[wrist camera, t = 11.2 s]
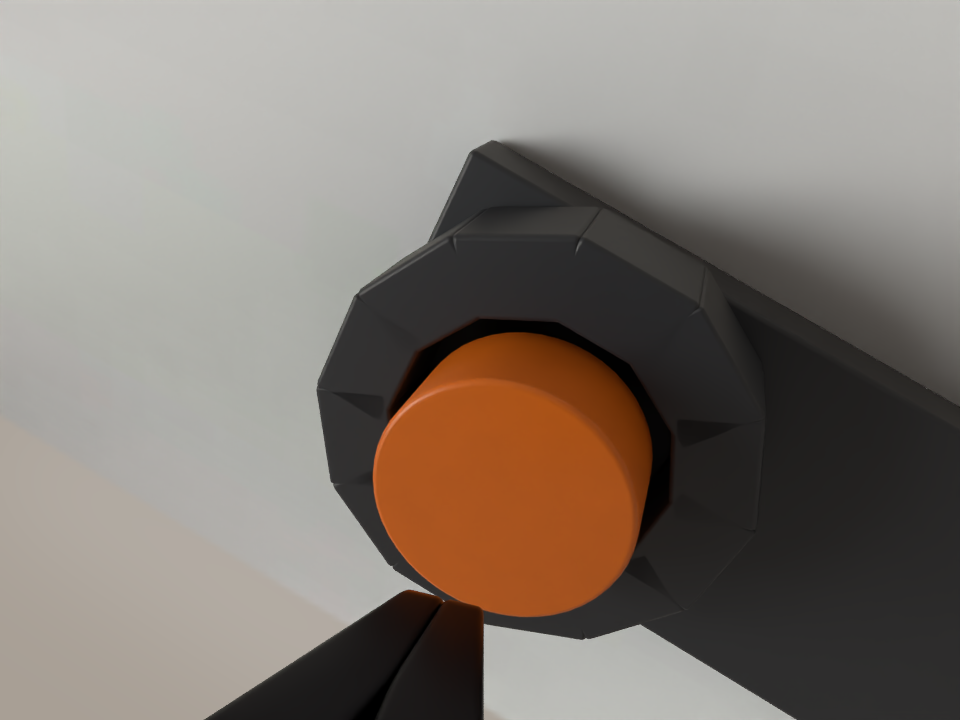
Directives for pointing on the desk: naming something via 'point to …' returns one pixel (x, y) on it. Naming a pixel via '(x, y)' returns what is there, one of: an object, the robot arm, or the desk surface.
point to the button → (516, 475)
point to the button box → (692, 446)
